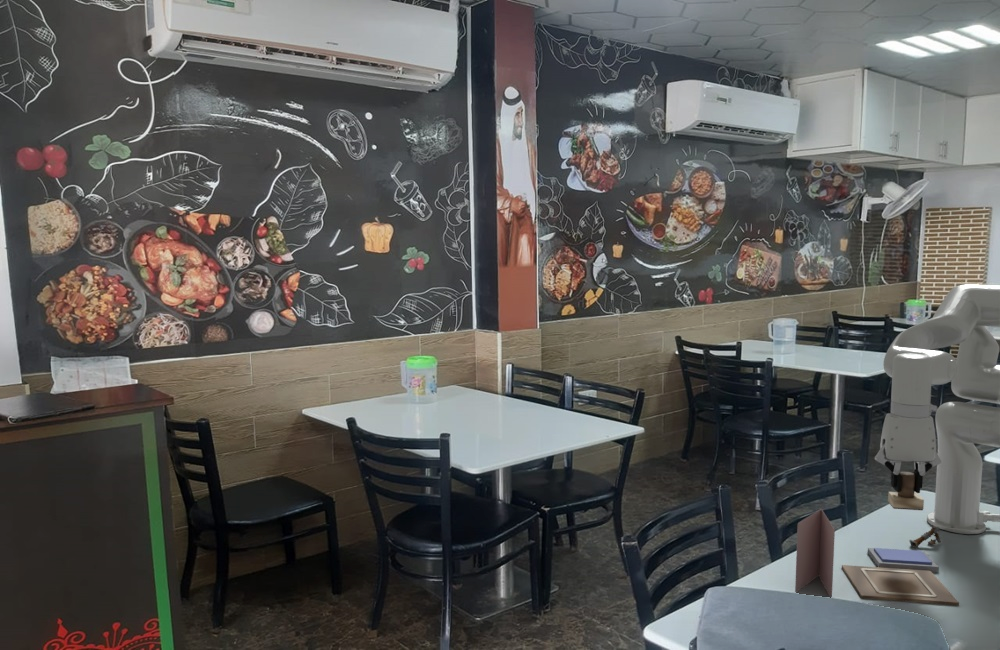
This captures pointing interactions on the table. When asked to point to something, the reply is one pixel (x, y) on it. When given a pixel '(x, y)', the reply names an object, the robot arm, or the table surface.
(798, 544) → the greeting card
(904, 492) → the stamp
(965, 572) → the table surface
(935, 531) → the wooden post with brackets
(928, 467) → the robot arm
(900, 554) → the ink pad
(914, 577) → the marked board
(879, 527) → the table surface
